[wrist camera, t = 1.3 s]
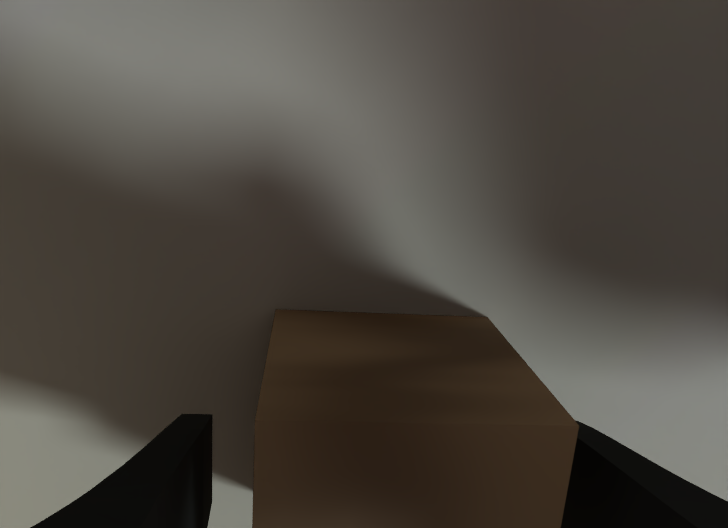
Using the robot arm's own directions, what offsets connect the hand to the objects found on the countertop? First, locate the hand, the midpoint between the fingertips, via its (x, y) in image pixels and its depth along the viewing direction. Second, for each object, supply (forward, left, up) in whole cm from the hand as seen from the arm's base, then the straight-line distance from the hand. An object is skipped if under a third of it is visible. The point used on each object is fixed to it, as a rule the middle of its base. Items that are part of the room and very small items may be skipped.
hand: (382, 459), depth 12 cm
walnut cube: (0, 0, -2) cm, 2 cm away
